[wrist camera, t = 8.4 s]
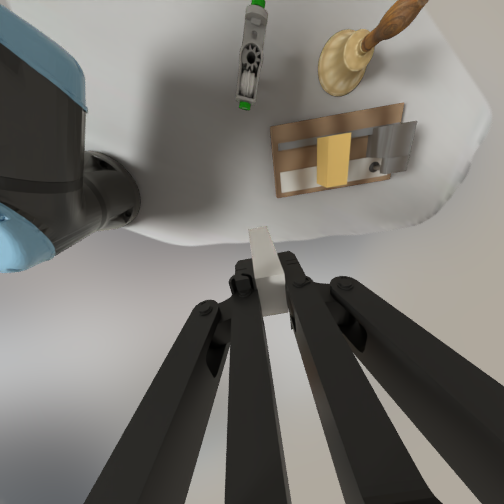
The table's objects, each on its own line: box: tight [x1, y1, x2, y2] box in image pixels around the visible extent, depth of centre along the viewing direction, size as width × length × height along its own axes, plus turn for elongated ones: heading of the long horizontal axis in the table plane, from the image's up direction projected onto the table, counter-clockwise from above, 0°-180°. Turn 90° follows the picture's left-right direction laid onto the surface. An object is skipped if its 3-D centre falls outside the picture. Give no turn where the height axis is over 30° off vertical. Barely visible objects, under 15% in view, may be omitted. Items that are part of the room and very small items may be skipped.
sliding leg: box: [317, 133, 351, 188], centre depth 34 cm, size 4×8×6 cm, turn 9°
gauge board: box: [270, 103, 417, 198], centre depth 35 cm, size 24×13×8 cm, turn 99°
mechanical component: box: [236, 0, 268, 110], centre depth 28 cm, size 3×10×10 cm, turn 170°
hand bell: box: [318, 0, 428, 96], centre depth 25 cm, size 8×8×16 cm
